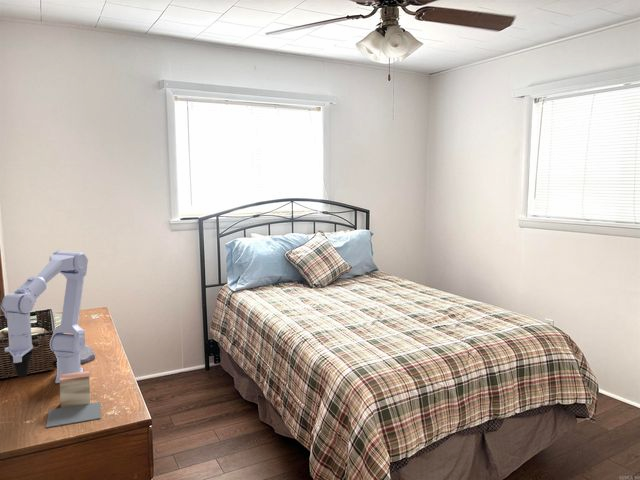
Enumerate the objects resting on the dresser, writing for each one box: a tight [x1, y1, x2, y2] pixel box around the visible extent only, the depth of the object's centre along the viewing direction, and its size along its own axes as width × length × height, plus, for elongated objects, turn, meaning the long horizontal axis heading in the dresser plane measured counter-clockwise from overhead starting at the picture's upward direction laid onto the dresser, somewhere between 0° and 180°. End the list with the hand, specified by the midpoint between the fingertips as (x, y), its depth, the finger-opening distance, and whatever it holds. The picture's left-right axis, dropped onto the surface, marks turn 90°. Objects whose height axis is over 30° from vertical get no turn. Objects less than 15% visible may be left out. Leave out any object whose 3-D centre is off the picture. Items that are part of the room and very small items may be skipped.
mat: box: [45, 401, 102, 429], centre depth 141 cm, size 10×14×1 cm
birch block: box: [59, 370, 91, 408], centre depth 147 cm, size 4×8×9 cm, turn 114°
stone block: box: [80, 344, 96, 364], centre depth 178 cm, size 12×5×10 cm
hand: (22, 375), depth 142 cm, fingers closed
